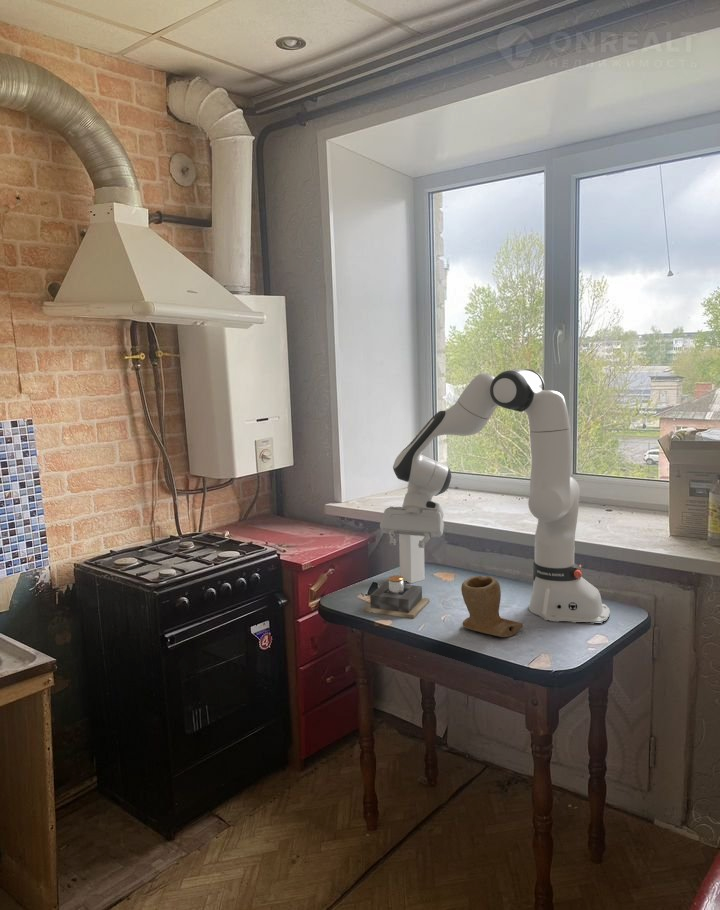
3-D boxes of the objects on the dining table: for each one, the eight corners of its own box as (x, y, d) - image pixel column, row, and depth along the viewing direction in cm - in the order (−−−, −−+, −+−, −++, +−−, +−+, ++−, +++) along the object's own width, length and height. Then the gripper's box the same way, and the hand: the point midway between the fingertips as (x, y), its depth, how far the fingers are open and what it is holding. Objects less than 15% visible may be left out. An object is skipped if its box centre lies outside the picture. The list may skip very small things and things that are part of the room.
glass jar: (406, 601, 206) (405, 576, 205) (401, 606, 202) (400, 580, 201) (392, 600, 208) (391, 574, 206) (387, 604, 204) (386, 579, 202)
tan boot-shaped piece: (452, 631, 185) (451, 578, 183) (477, 618, 194) (476, 567, 192) (500, 646, 175) (500, 590, 173) (524, 632, 184) (524, 578, 181)
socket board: (429, 601, 208) (429, 586, 207) (414, 618, 195) (413, 601, 194) (381, 595, 214) (380, 580, 214) (363, 611, 202) (362, 595, 201)
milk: (411, 583, 225) (409, 518, 221) (399, 579, 230) (398, 515, 226) (425, 579, 228) (423, 515, 225) (413, 575, 233) (412, 512, 230)
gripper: (383, 501, 220) (372, 538, 212) (444, 504, 211) (435, 543, 204) (388, 511, 224) (378, 548, 217) (448, 515, 216) (440, 553, 209)
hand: (406, 545), depth 210 cm, fingers open, 8 cm apart
